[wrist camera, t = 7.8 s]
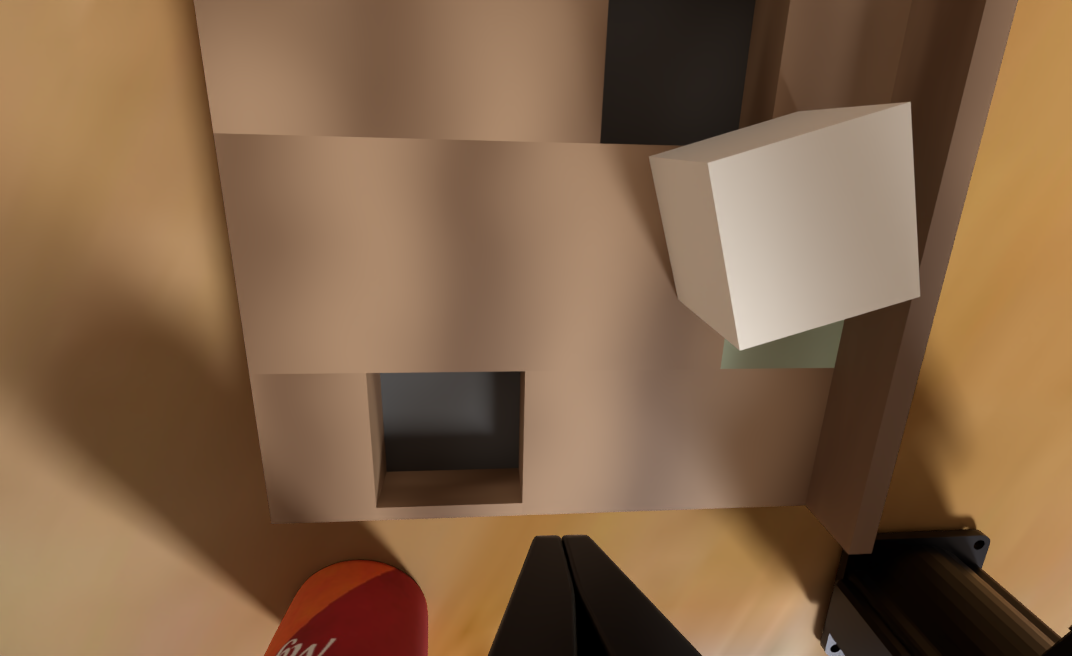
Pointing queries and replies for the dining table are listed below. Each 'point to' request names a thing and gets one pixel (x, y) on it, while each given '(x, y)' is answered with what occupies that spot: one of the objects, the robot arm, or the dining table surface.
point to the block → (793, 221)
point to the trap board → (559, 249)
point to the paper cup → (355, 614)
